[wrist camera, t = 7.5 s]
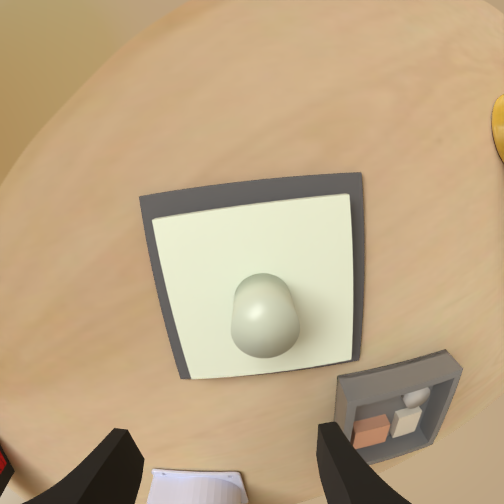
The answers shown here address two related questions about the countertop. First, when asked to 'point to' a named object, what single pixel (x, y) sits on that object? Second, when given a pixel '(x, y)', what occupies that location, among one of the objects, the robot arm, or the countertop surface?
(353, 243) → the mat
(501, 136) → the plant pot
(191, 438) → the countertop surface
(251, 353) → the lid
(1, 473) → the cleaning product box
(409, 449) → the storage box
